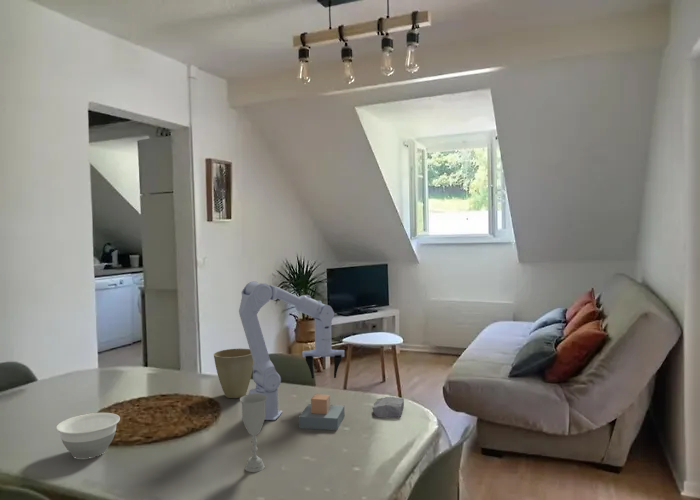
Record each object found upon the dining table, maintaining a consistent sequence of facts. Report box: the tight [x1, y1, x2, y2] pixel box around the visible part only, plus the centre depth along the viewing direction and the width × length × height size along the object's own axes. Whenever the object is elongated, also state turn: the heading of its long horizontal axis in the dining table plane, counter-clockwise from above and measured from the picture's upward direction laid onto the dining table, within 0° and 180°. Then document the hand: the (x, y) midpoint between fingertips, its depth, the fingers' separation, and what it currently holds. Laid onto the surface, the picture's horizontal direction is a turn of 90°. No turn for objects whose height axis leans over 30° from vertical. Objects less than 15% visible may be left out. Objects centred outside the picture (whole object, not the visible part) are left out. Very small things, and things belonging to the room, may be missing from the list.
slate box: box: [298, 403, 345, 431], centre depth 169 cm, size 12×12×4 cm
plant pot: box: [213, 348, 254, 399], centre depth 198 cm, size 15×15×16 cm
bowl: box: [55, 412, 121, 458], centre depth 148 cm, size 16×16×8 cm
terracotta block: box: [310, 393, 331, 414], centre depth 169 cm, size 5×5×4 cm
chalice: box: [239, 393, 267, 473], centre depth 137 cm, size 7×7×18 cm
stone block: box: [372, 396, 405, 418], centre depth 178 cm, size 12×5×10 cm
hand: (323, 377), depth 186 cm, fingers open, 7 cm apart
